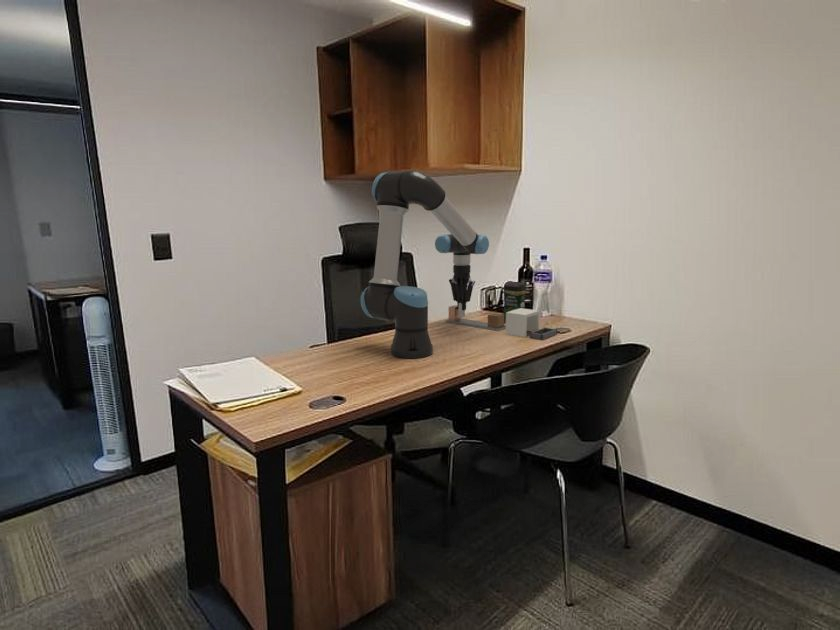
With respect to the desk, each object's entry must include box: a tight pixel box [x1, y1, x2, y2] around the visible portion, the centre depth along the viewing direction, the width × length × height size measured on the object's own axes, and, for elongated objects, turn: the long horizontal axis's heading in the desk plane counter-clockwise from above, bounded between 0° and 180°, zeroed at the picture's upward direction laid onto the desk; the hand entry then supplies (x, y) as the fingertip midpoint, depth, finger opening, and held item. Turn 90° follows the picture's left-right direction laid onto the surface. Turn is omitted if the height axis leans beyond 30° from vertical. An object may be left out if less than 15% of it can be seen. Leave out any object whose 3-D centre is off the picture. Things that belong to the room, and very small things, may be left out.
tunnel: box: [505, 308, 541, 338], centre depth 211 cm, size 11×9×9 cm
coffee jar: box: [502, 281, 527, 324], centre depth 229 cm, size 10×8×19 cm
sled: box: [445, 304, 506, 332], centre depth 226 cm, size 7×28×7 cm, turn 49°
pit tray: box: [529, 327, 558, 341], centre depth 205 cm, size 12×6×2 cm, turn 139°
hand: (461, 316), depth 231 cm, fingers closed
